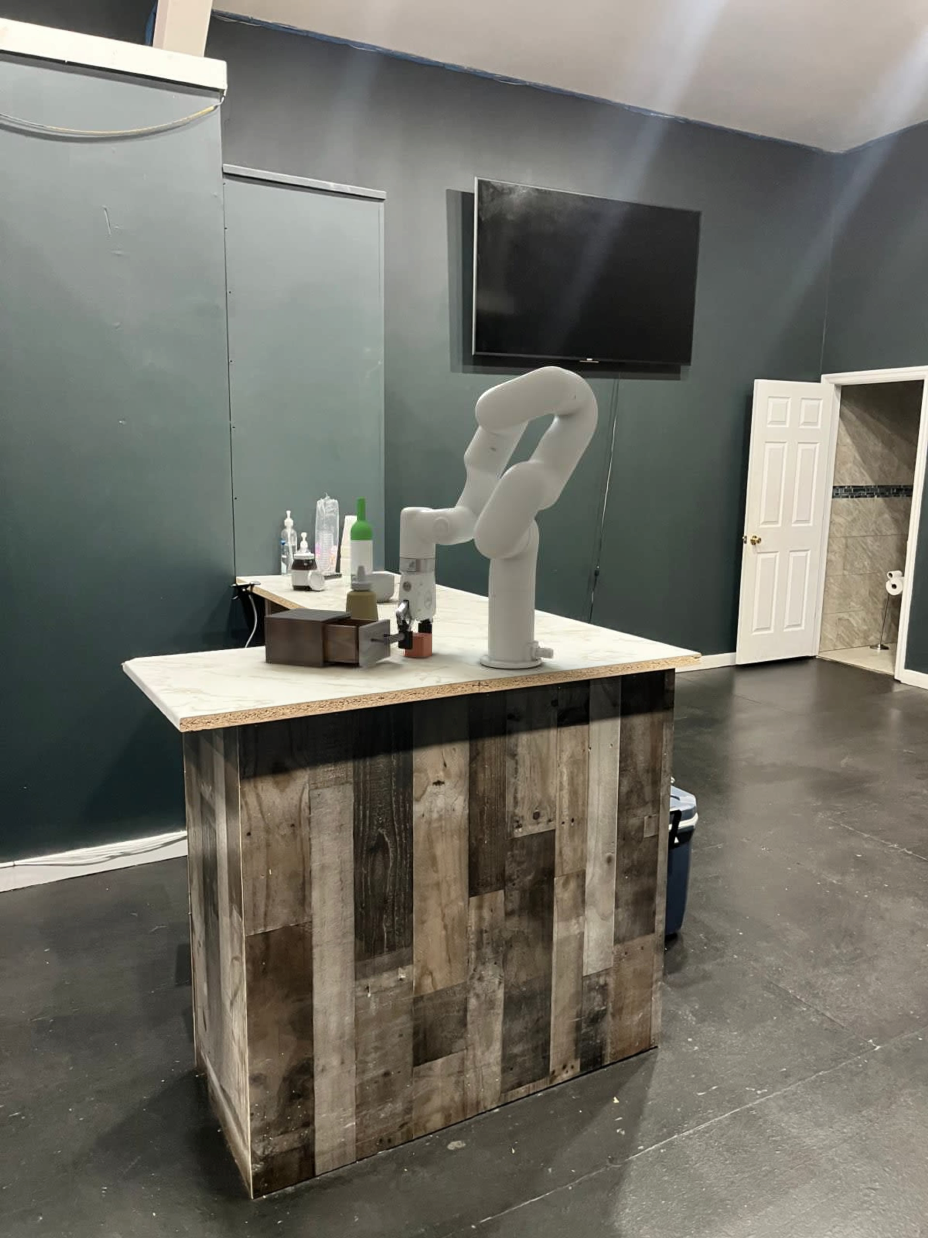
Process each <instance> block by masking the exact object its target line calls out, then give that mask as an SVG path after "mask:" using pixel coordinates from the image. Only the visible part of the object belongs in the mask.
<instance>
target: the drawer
mask: <svg viewBox="0 0 928 1238" xmlns="http://www.w3.org/2000/svg"><path fill="white" fill-rule="evenodd" d="M403 639H404V634H403V633H398V632H397V633H394V634H391V619H390V618H384V619H379V621H378V620H372V619H358V618H342V619H339V620H335V621H332V622H328V623H325V624H324V660H325V661H336V663H348V664H356V663H357V664H359V667H367V666H369V665H372V664H374V663H377V662H380V661H382V660H384V659H387V658H389V657H391V653H392V652H391V649H392V648H391V645H393V644H395V643H398V641H401V640H403Z"/></svg>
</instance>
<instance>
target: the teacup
mask: <svg viewBox="0 0 928 1238" xmlns="http://www.w3.org/2000/svg"><path fill="white" fill-rule="evenodd" d="M356 576H357V575H355V576H353V578H352V582H353V581H355V579H356ZM366 578H367V581H370V582H372V589H370V590H371V591H374V592H375V593H376V600H377V603H383V602H388V601H389V600H390V599H392V597H393V596H394V594H395V589H396V588H395V586H396V585H395V584H396V583H395V582H396V581H395V578H396V575H394V574H393V573H386V572H373V573H370V574H366Z"/></svg>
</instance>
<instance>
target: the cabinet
mask: <svg viewBox="0 0 928 1238" xmlns="http://www.w3.org/2000/svg"><path fill="white" fill-rule="evenodd" d="M352 615H353V612H346V610H330V609H315V608H301V607H296V608H293V609H289V610H284V611H280V612H276V613H272V614H268V615H264V617H263V619H264V620H263V621H264V622H263V623H264V650H265V651H264V652H265V653H264V654H265V663H270V664H281V665H289V666H290V665H291V666H301V667H302V666H303V667H310V668H311V667H313V668H325V667H328V666H331V665H334V664H337V662H336V661H325V660H324V624H325V623H328V622H332V621H335V620H339V619H342V618H353V616H352Z"/></svg>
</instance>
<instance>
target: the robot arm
mask: <svg viewBox="0 0 928 1238" xmlns="http://www.w3.org/2000/svg"><path fill="white" fill-rule="evenodd" d="M548 415H553V416H554V418H553V421H552V423H551V424H550V426H549V427H548V429H547V430H546V431H545V433H544V434H543V436H542V437H541V439H540V441H539V443H538V445H537V447H536V448H535V450H534V452H533V454H532V455H531V456H530V458H529V459H528V460H527V461H525V460H524V461H520V462H517V463H515V464H514V465H512V466H510V467H509V468H508V469H507V470H506V471H505V472H504V470H505V469H506V467H507V465H508V464H509V460H510V459H511V457H512V455H513V453H514V451H515V449H516V448H517V445H518V444H519V442H520V441H521V438H522V436H523V435H524V432H525V430H526V428H527V427H528V424H529V422H531V421H533V420H536V419H539V418H541V417H544V416H548ZM474 417H475V420H476V422H477V424H478V425H479V426H478V428H477V429H476V431H475V434H474V436H473V438H472V439H471V442H470V443H469V444H468V447H467V449H466V450H465V452H464V455H463V464H464V467H465V469H466V482H465V484H464V488H463V489H462V490H463V491H462V493H461V495H460V497H459V498H458V500H457V502H456V504H455V506H454V507H447V508H439V509H433V508H431V507H425V506H424V507H423V506H407V507H404V508H403V509H402V510H401V512H400V518H399V519H400V520H399V522H400V523H399V525H400V527H399V567H398V568H399V570H398V572H399V573H400V579H399V586H398V599H397V609H396V611H395V618H396V620H395V621H396V626H397V627H396V629H397V633H403V634H404V639H403V640H401V641H398V642H397V648H398V649H401V650H405V649H407V650H411V649H413V632H414V631H413V626H414V623H415V621H416V622H418V623H417V633H429V634H432V635H433V623H434V618H433V617H434V616H435V615H436V614H437V586H436V576H435V575H436V574H435V573H436V570H435V569H436V545H441V546H453V545H458V544H462V543H467V542H470V541H471V540H474V545H475V547H476V550H478V551H479V553H480V554H481V555H482V556H484V557H486V558H487V559H490V562H489V567H488V569H489V570H488V594H487V595H488V598H487V600H488V602H487V603H488V604H487V605H488V607H487V608H488V612H487V614H488V615H487V653H485V654H483V655H481V656H480V658H479V660H480V661H479V662H480V664H482V665H484V666H485V667H486V666H487V667H491V668H497V669H509V670H510V669H529V668H534V667H535V668H536V667H538V666H540V665H541V664H542V658H543V659H551V660H552V659H553V658H554V655H555V654H554V653H555V652H554V651H555V650H554V649H553V648H551V647H541V646H540V645H539V640H535V617H536V615H535V614H536V613H535V611H536V610H535V609H536V573H537V559H538V552H539V546H540V545H539V544H540V530H539V526H538V523H537V521H536V519H535V518H536V516H537V514H538V512H539V511H543V510H546V509H548V508H550V507H552V506H553V505H555V503H556V502H557V501H558V500H559V498H560V496H561V494H562V491H563V490H564V488H565V486H566V485H567V483H568V481H569V479H570V478H571V476H572V474H573V472H574V470H575V469H576V467H577V465H578V463H579V461H580V460H581V458H582V456H583V454H584V453H585V451H586V449H587V448H588V445H589V444H590V442H591V440H592V439H593V436H594V434H595V431H596V428H597V426H598V425H597V424H598V419H599V407H598V401H597V398H596V396H595V394H594V391H593V390H592V388H591V386H590V385H589V383H588V382H587V381H586V380H585V379H584V378H583V377H581V376H580V375H579V374H577V373H575V372H573V371H571V370H568V369H565V368H562V367H559V366H553V365H551V366H543V367H540V368H537V369H534V370H532V371H530V372H527V373H525V374H522V375H520V376H518V377H516V378H512V379H511V380H508V381H505V382H503V383H500V384H498V385H496V386H493V387H491V388H489V389H487V390H486V391H484V392H483V393H482V394H481V395H480V397H479V398H478V399H477V402H476V404H475V408H474Z"/></svg>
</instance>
